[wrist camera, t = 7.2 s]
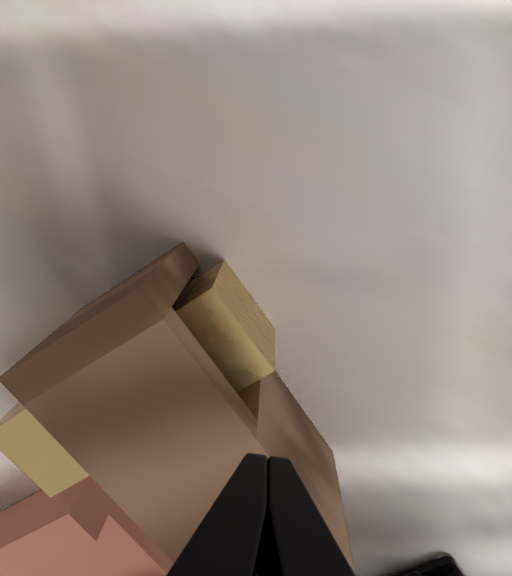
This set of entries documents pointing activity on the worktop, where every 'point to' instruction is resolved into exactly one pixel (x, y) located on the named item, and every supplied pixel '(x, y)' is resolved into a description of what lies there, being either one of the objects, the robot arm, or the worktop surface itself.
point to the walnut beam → (164, 409)
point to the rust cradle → (75, 537)
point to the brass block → (210, 335)
